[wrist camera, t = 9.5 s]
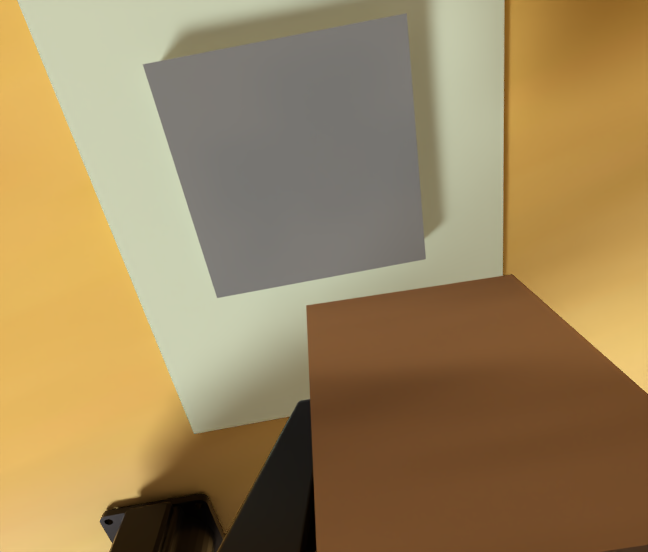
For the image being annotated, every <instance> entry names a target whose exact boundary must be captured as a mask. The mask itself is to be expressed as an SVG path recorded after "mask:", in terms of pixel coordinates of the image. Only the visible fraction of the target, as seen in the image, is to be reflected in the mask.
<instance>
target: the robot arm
mask: <svg viewBox="0 0 648 552" xmlns="http://www.w3.org/2000/svg"><path fill="white" fill-rule="evenodd" d="M100 523H101V525H102V527H103V528H104V530H105V532H106V533H107V535H108V537H109V538H110V540H111V542H112V543H113V544H112V546H111V549H110V551H109V552H317V546H316V523H315V500H314V477H313V453H312V430H311V407H310V399H305V400H300V401H299V402H298V403H297V405H296V406H295V408H294V410H293V412H292V414H291V416H290V417H289V419H288V421H287V423H286V425H285V427H284V429H283V430H282V432H281V434H280V436H279V438H278V440H277V441H276V443H275V445H274V447H273V449H272V451H271V453H270V454H269V456H268V458H267V460H266V462H265V464H264V466H263V467H262V469H261V471H260V473H259V475H258V477H257V478H256V480H255V482H254V484H253V486H252V488H251V490H250V491H249V493H248V495H247V497H246V499H245V501H244V503H243V504H242V506H241V508H240V510H239V512H238V514H237V515H236V517H235V519H234V521H233V523H232V525H231V527H230V528H229V530H228V532H227V534H226V536H225V535H224V533H223V530H222V528H221V526H220V523H219V521H218V518H217V516H216V514H215V511H214V509H213V507H212V504H211V502H210V500H209V498H208V496H206V495H205V494H195V495H190V496H184V497H179V498H173V499H168V500H162V501H157V502H151V503H145V504H140V505H134V506H129V507H123V508H118V509H112V510H108V511H105V512H104V513H103V515H102V517H101V520H100Z"/></svg>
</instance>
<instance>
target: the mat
mask: <svg viewBox="0 0 648 552" xmlns="http://www.w3.org/2000/svg"><path fill="white" fill-rule="evenodd" d="M17 1H18V3H19V6H20V8H21V10H22V13H23V15H24V18H25V20H26V23H27V25H28V28H29V30H30V32H31V35H32V37H33V40H34V42H35V45H36V47H37V50H38V52H39V55H40V57H41V59H42V62H43V64H44V67H45V69H46V72H47V74H48V77H49V79H50V82H51V84H52V86H53V89H54V91H55V94H56V96H57V99H58V101H59V104H60V106H61V109H62V111H63V113H64V116H65V118H66V121H67V123H68V126H69V128H70V131H71V133H72V136H73V138H74V140H75V143H76V145H77V148H78V150H79V153H80V155H81V158H82V160H83V163H84V165H85V167H86V170H87V172H88V175H89V177H90V180H91V182H92V185H93V187H94V190H95V192H96V194H97V197H98V199H99V202H100V204H101V207H102V209H103V212H104V214H105V217H106V219H107V221H108V224H109V226H110V229H111V231H112V234H113V236H114V239H115V241H116V244H117V246H118V248H119V251H120V253H121V256H122V258H123V261H124V263H125V266H126V268H127V271H128V273H129V275H130V278H131V280H132V283H133V285H134V288H135V290H136V293H137V295H138V298H139V300H140V302H141V305H142V307H143V310H144V312H145V315H146V317H147V320H148V322H149V325H150V327H151V329H152V332H153V334H154V337H155V339H156V342H157V344H158V347H159V349H160V352H161V354H162V356H163V359H164V361H165V364H166V366H167V369H168V371H169V374H170V376H171V379H172V381H173V383H174V386H175V388H176V391H177V393H178V396H179V398H180V401H181V403H182V406H183V408H184V410H185V413H186V415H187V418H188V420H189V423H190V425H191V428H192V430H193V433H194V434H197V433H203V432H208V431H213V430H219V429H224V428H230V427H235V426H241V425H246V424H252V423H257V422H263V421H268V420H274V419H279V418H285V417H290V416H291V414H292V412H293V410H294V408H295V406H296V405H297V403H298V402H299V401H300V400H305V399H310V384H309V360H308V337H307V314H306V305H312V304H319V303H326V302H332V301H339V300H345V299H352V298H359V297H365V296H372V295H379V294H385V293H392V292H398V291H405V290H412V289H418V288H425V287H432V286H438V285H445V284H452V283H458V282H465V281H471V280H478V279H485V278H491V277H498V276H503V164H504V0H17ZM405 13H407V22H408V35H409V48H410V61H411V74H412V87H413V100H414V112H415V125H416V138H417V151H418V164H419V177H420V190H421V203H422V215H423V228H424V241H425V254H426V259H424V260H419V261H414V262H408V263H403V264H398V265H392V266H387V267H382V268H376V269H371V270H365V271H360V272H355V273H349V274H344V275H339V276H333V277H328V278H323V279H317V280H312V281H306V282H301V283H296V284H290V285H285V286H280V287H274V288H269V289H264V290H258V291H253V292H248V293H242V294H237V295H231V296H226V297H221V298H217V296H216V293H215V290H214V287H213V284H212V281H211V277H210V274H209V271H208V268H207V265H206V262H205V259H204V255H203V252H202V249H201V246H200V243H199V240H198V237H197V234H196V230H195V227H194V224H193V221H192V218H191V215H190V212H189V208H188V205H187V202H186V199H185V196H184V193H183V190H182V186H181V183H180V180H179V177H178V174H177V171H176V168H175V164H174V161H173V158H172V155H171V152H170V149H169V146H168V142H167V139H166V136H165V133H164V130H163V127H162V124H161V120H160V117H159V114H158V111H157V108H156V105H155V102H154V98H153V95H152V92H151V89H150V86H149V83H148V80H147V77H146V73H145V70H144V67H143V64H147V63H152V62H157V61H163V60H168V59H173V58H178V57H183V56H188V55H194V54H199V53H204V52H209V51H214V50H219V49H224V48H230V47H235V46H240V45H245V44H250V43H255V42H261V41H266V40H271V39H276V38H281V37H286V36H292V35H297V34H302V33H307V32H312V31H317V30H323V29H328V28H333V27H338V26H343V25H348V24H354V23H359V22H364V21H369V20H374V19H379V18H385V17H390V16H395V15H400V14H405Z"/></svg>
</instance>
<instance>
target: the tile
mask: <svg viewBox="0 0 648 552" xmlns="http://www.w3.org/2000/svg"><path fill="white" fill-rule="evenodd" d="M143 67H144V70H145V73H146V77H147V80H148V83H149V86H150V89H151V92H152V95H153V98H154V102H155V105H156V108H157V111H158V114H159V117H160V120H161V124H162V127H163V130H164V133H165V136H166V139H167V142H168V146H169V149H170V152H171V155H172V158H173V161H174V164H175V168H176V171H177V174H178V177H179V180H180V183H181V186H182V190H183V193H184V196H185V199H186V202H187V205H188V208H189V212H190V215H191V218H192V221H193V224H194V227H195V230H196V234H197V237H198V240H199V243H200V246H201V249H202V252H203V255H204V259H205V262H206V265H207V268H208V271H209V274H210V277H211V281H212V284H213V287H214V290H215V293H216V296H217V298H221V297H226V296H231V295H237V294H242V293H248V292H253V291H258V290H264V289H269V288H274V287H280V286H285V285H290V284H296V283H301V282H306V281H312V280H317V279H323V278H328V277H333V276H339V275H344V274H349V273H355V272H360V271H365V270H371V269H376V268H382V267H387V266H392V265H398V264H403V263H408V262H414V261H419V260H424V259H426V254H425V241H424V228H423V215H422V203H421V190H420V177H419V164H418V151H417V138H416V125H415V112H414V100H413V87H412V74H411V61H410V48H409V35H408V22H407V13H405V14H400V15H395V16H390V17H385V18H379V19H374V20H369V21H364V22H359V23H354V24H348V25H343V26H338V27H333V28H328V29H323V30H317V31H312V32H307V33H302V34H297V35H292V36H286V37H281V38H276V39H271V40H266V41H261V42H255V43H250V44H245V45H240V46H235V47H230V48H224V49H219V50H214V51H209V52H204V53H199V54H194V55H188V56H183V57H178V58H173V59H168V60H163V61H157V62H152V63H147V64H143Z"/></svg>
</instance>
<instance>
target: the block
mask: <svg viewBox="0 0 648 552" xmlns="http://www.w3.org/2000/svg"><path fill="white" fill-rule="evenodd" d="M306 314H307V337H308V360H309V384H310V407H311V430H312V453H313V477H314V500H315V523H316V546H317V552H648V394H647V393H646V392H645V391H644V390H643V389H642V388H640V387H639V386H638V385H637V384H636V383H635V382H634V381H632V380H631V379H630V378H629V377H628V376H627V375H626V374H625V373H623V372H622V371H621V370H620V369H619V368H618V367H617V366H615V365H614V364H613V363H612V362H611V361H610V360H609V359H608V358H606V357H605V356H604V355H603V354H602V353H601V352H600V351H598V350H597V349H596V348H595V347H594V346H593V345H592V344H591V343H589V342H588V341H587V340H586V339H585V338H584V337H583V336H582V335H580V334H579V333H578V332H577V331H576V330H575V329H574V328H572V327H571V326H570V325H569V324H568V323H567V322H566V321H565V320H563V319H562V318H561V317H560V316H559V315H558V314H557V313H555V312H554V311H553V310H552V309H551V308H550V307H549V306H548V305H546V304H545V303H544V302H543V301H542V300H541V299H540V298H538V297H537V296H536V295H535V294H534V293H533V292H532V291H531V290H529V289H528V288H527V287H526V286H525V285H524V284H523V283H521V282H520V281H519V280H518V279H517V278H516V277H515V276H514V275H512V274H511V275H505V276H498V277H491V278H485V279H478V280H471V281H465V282H458V283H452V284H445V285H438V286H432V287H425V288H418V289H412V290H405V291H398V292H392V293H385V294H379V295H372V296H365V297H359V298H352V299H345V300H339V301H332V302H326V303H319V304H312V305H306Z"/></svg>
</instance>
